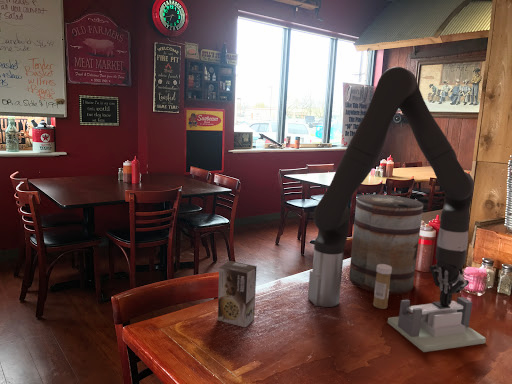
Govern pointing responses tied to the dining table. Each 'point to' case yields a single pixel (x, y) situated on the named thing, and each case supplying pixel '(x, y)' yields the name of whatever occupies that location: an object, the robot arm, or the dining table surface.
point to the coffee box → (236, 293)
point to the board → (437, 327)
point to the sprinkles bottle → (382, 286)
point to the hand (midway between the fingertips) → (445, 304)
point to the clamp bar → (436, 307)
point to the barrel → (385, 241)
